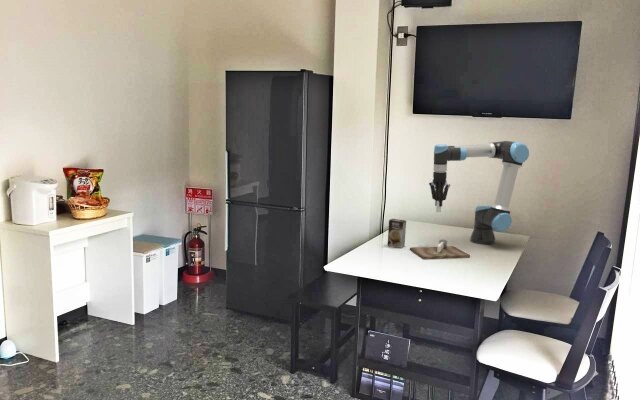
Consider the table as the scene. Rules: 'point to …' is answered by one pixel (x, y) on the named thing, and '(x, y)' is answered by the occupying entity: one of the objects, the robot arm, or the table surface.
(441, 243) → the grey-tipped match
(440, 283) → the table surface
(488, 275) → the table surface
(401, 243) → the coffee box
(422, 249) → the dial board
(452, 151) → the robot arm
